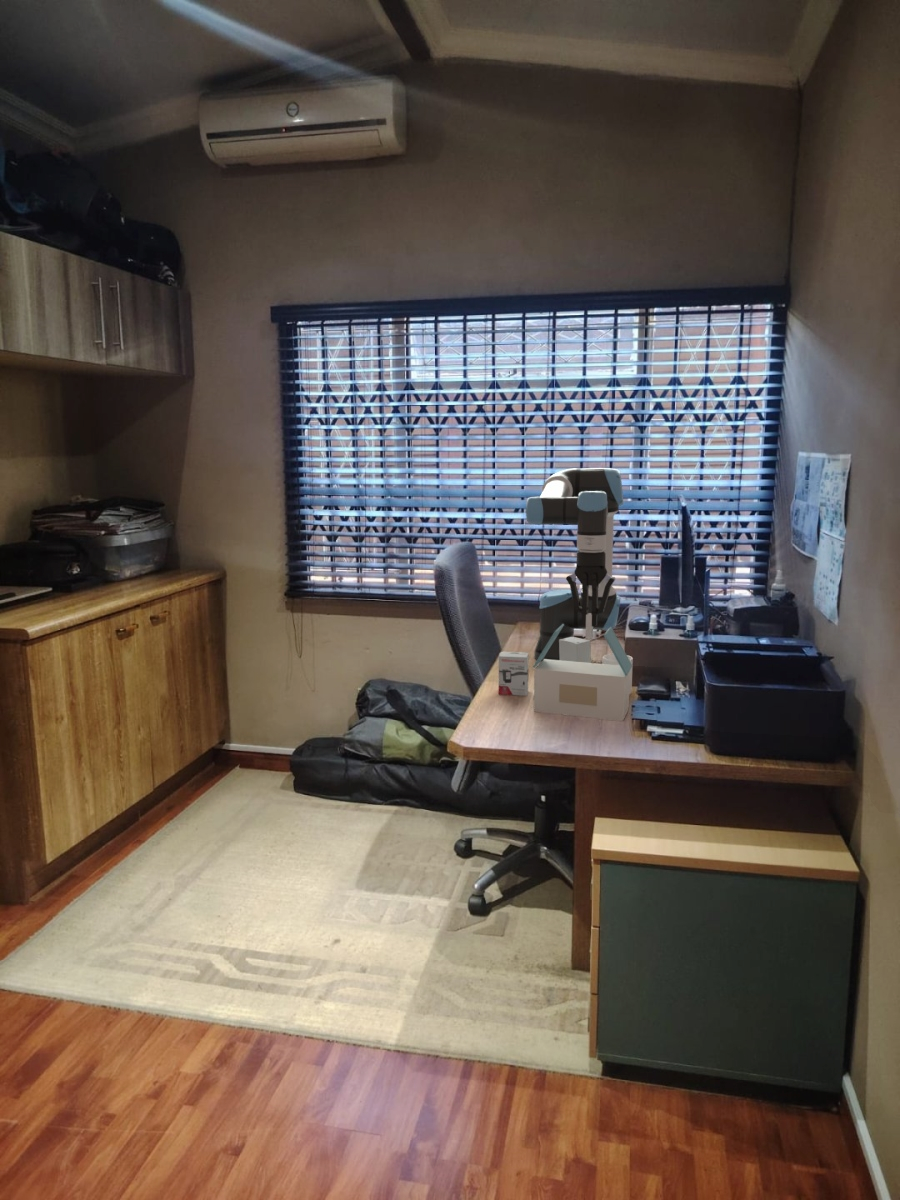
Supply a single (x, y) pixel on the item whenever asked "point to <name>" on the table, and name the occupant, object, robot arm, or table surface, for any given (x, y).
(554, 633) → the flap
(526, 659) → the ink box
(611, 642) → the flap
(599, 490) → the robot arm
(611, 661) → the mug
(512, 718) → the table surface
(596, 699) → the carton
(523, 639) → the table surface
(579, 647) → the skincare box
